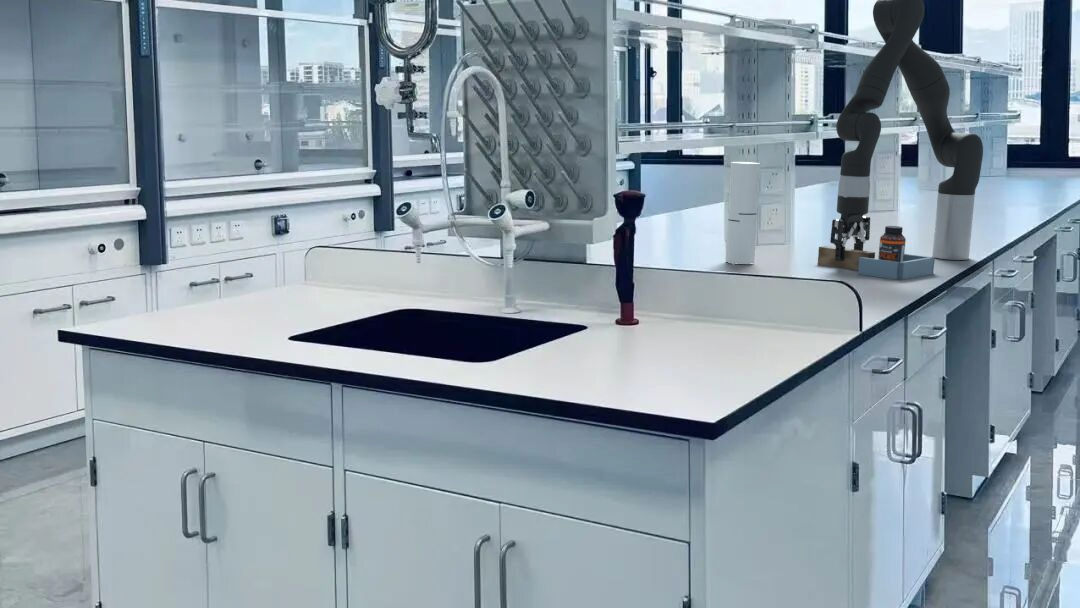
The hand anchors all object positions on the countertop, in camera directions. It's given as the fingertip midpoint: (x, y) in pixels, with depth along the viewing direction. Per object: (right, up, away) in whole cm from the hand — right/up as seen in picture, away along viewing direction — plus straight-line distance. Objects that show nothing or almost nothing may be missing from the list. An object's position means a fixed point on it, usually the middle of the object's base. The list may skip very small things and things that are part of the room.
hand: (848, 259), depth 278 cm
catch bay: (+9, -4, -8) cm, 13 cm away
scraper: (-1, -2, +1) cm, 2 cm away
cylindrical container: (-27, -1, +3) cm, 27 cm away
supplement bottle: (+8, -4, -8) cm, 12 cm away
